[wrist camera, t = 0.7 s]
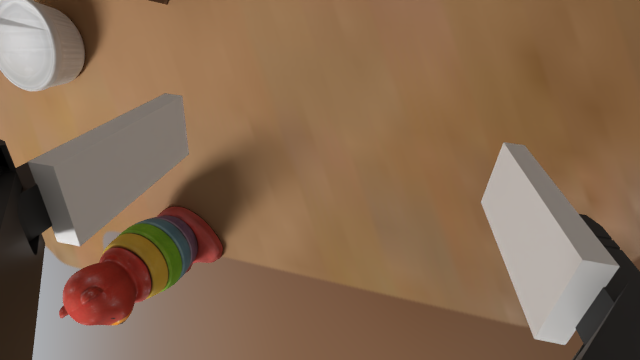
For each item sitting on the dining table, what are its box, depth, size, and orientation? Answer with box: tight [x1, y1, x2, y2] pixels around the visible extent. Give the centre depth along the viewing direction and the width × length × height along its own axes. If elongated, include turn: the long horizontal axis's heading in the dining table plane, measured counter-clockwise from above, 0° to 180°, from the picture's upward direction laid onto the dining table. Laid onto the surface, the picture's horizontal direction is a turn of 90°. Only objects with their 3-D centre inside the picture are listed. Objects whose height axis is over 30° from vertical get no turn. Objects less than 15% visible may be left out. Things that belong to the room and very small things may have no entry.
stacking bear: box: [59, 207, 223, 325], centre depth 44 cm, size 11×10×18 cm
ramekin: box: [0, 0, 85, 91], centre depth 46 cm, size 11×11×5 cm
